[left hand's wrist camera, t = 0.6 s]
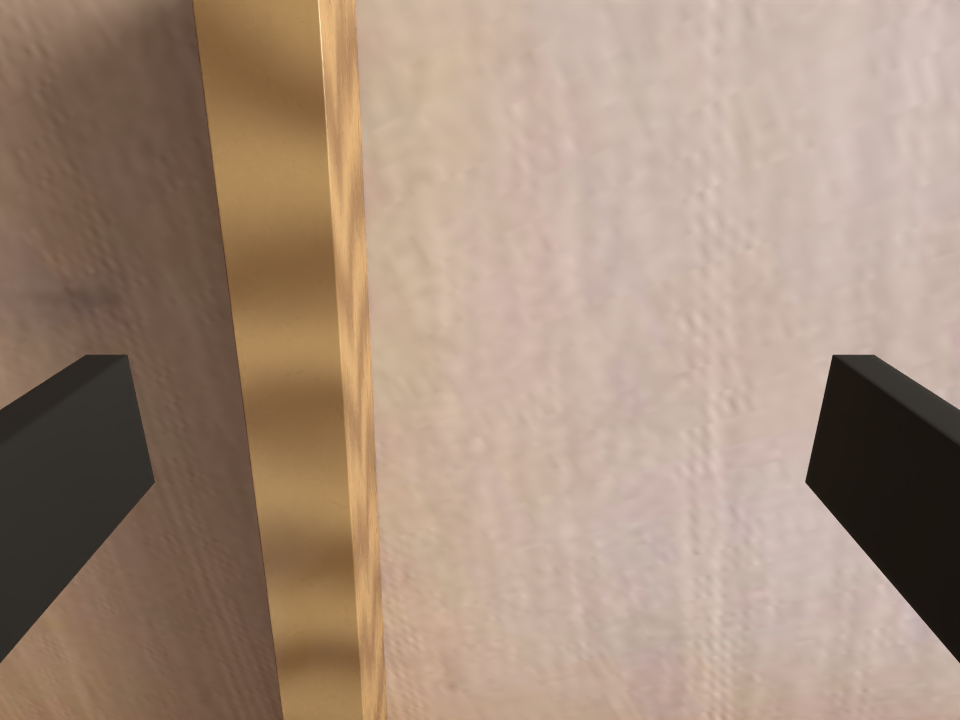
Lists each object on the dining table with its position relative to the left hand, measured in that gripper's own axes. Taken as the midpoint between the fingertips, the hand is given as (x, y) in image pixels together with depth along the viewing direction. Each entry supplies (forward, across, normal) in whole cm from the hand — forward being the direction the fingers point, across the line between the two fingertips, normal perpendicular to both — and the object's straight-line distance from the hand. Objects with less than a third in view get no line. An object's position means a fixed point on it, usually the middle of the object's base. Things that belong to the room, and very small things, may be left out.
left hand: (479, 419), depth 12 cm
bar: (+22, -8, -15) cm, 28 cm away
